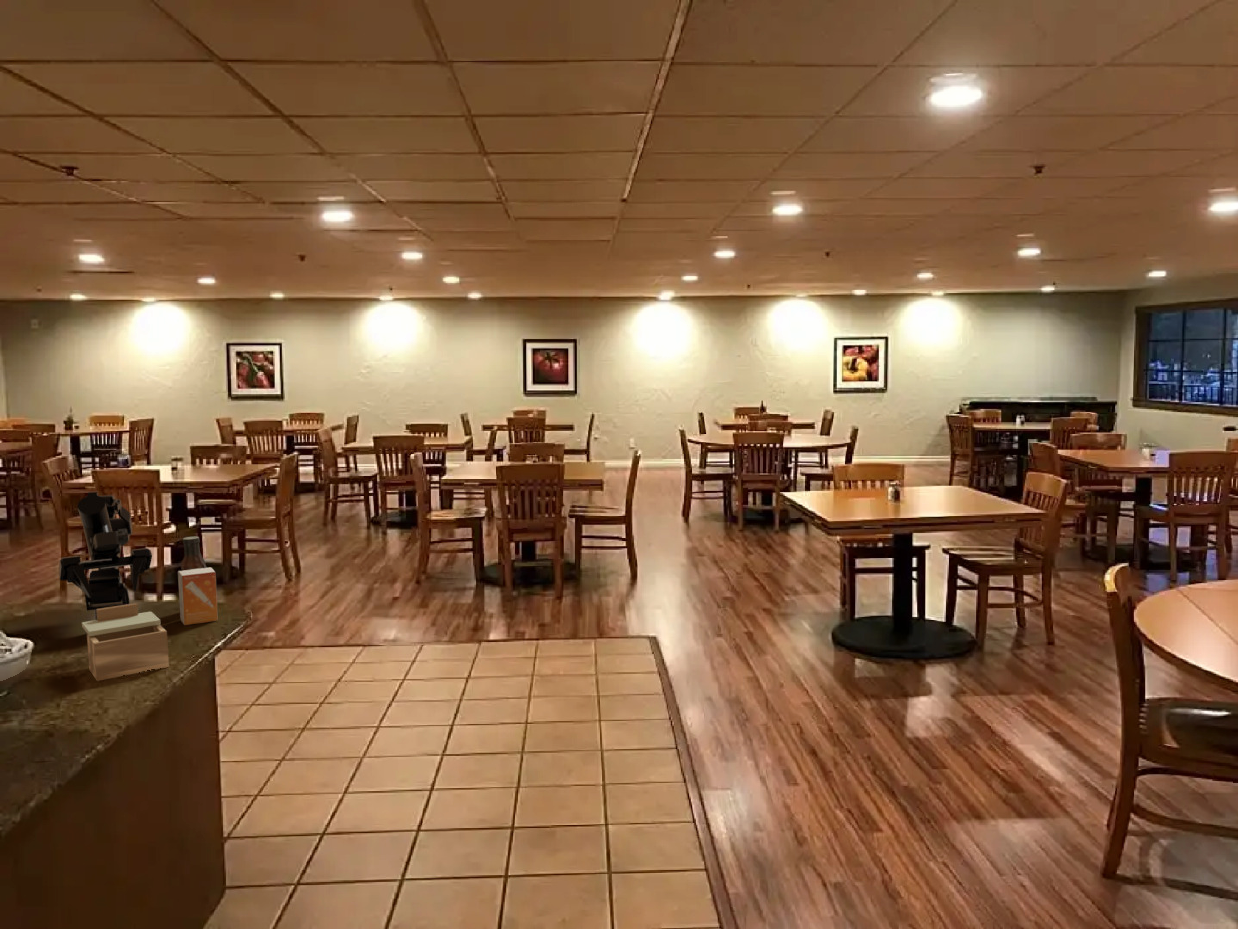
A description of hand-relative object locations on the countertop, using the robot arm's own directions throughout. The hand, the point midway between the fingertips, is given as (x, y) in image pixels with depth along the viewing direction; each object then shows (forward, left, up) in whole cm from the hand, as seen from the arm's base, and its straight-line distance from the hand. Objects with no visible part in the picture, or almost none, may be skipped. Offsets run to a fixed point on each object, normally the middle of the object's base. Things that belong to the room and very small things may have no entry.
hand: (113, 593), depth 214 cm
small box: (-16, +22, -14) cm, 30 cm away
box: (+14, 0, -14) cm, 20 cm away
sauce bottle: (-26, +24, -14) cm, 38 cm away
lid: (+8, 0, -6) cm, 10 cm away
